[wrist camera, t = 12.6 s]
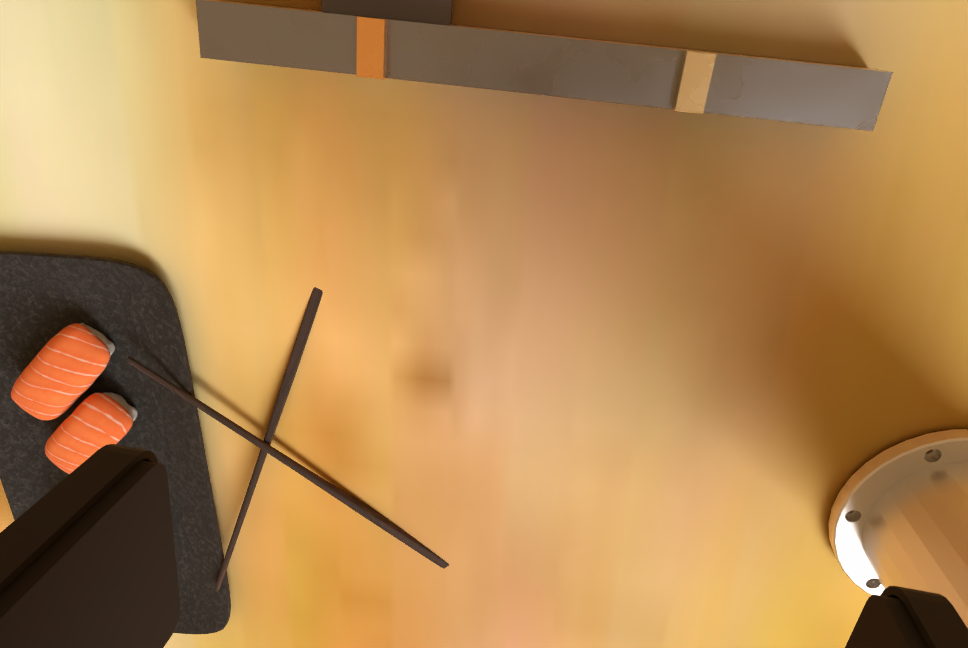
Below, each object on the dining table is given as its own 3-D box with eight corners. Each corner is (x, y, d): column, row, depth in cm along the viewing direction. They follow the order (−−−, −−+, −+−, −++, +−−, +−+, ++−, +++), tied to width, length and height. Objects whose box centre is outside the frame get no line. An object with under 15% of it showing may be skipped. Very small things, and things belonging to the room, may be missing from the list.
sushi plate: (-53, 237, 39) (-112, 258, 36) (453, 268, 37) (442, 294, 33) (65, 599, 51) (29, 641, 48) (450, 641, 49) (442, 688, 46)
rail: (868, 67, 30) (899, 73, 27) (851, 122, 31) (878, 133, 28) (220, 0, 32) (189, -1, 29) (224, 54, 33) (194, 58, 30)
